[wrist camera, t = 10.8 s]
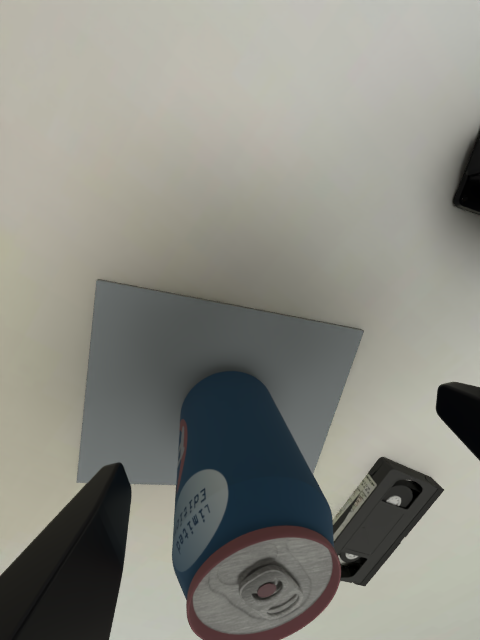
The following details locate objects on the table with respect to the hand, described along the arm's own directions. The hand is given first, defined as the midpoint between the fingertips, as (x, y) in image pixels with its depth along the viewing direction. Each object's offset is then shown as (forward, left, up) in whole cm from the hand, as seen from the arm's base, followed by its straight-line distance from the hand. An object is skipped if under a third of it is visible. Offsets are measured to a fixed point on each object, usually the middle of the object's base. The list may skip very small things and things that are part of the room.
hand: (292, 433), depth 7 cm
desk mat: (-1, +7, -13) cm, 15 cm away
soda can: (-1, +7, -13) cm, 14 cm away
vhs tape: (-20, +19, -13) cm, 31 cm away
